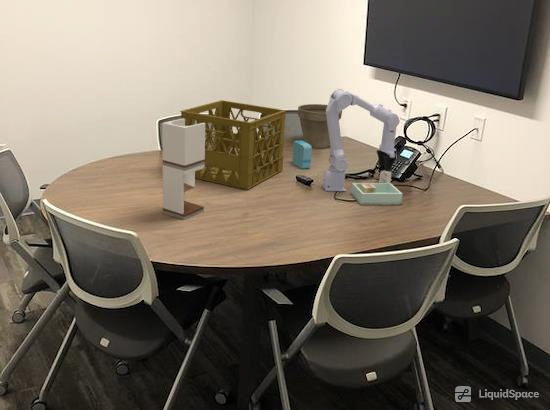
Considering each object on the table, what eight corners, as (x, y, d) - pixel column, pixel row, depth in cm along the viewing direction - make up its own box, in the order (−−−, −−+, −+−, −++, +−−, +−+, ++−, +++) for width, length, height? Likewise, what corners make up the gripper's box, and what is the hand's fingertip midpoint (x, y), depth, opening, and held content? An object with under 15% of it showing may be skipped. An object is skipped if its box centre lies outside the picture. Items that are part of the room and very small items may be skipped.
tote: (360, 205, 241) (362, 193, 239) (350, 193, 254) (351, 183, 252) (401, 204, 244) (402, 193, 243) (389, 193, 257) (390, 183, 255)
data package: (310, 169, 285) (312, 145, 281) (302, 169, 284) (303, 146, 280) (299, 162, 296) (301, 139, 291) (291, 162, 294) (293, 140, 290)
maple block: (363, 199, 245) (365, 188, 243) (359, 195, 250) (361, 184, 248) (374, 199, 246) (376, 188, 244) (370, 195, 251) (372, 184, 249)
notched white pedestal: (184, 219, 214) (185, 128, 202) (163, 213, 219) (162, 122, 207) (203, 211, 223) (205, 123, 211) (182, 205, 228) (183, 118, 216)
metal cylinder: (380, 188, 264) (382, 173, 261) (377, 184, 268) (379, 170, 266) (391, 188, 265) (393, 173, 262) (387, 184, 269) (389, 170, 267)
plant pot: (292, 148, 321) (295, 109, 314) (298, 138, 344) (300, 102, 336) (336, 152, 318) (340, 114, 310) (339, 142, 341) (343, 106, 333)
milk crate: (179, 175, 263) (180, 111, 253) (220, 158, 293) (221, 100, 283) (247, 191, 249) (250, 123, 239) (282, 171, 279) (286, 110, 269)
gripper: (402, 143, 250) (398, 173, 255) (390, 135, 263) (387, 163, 268) (387, 143, 248) (383, 173, 253) (376, 135, 262) (372, 163, 267)
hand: (384, 168), depth 260 cm, fingers open, 7 cm apart
